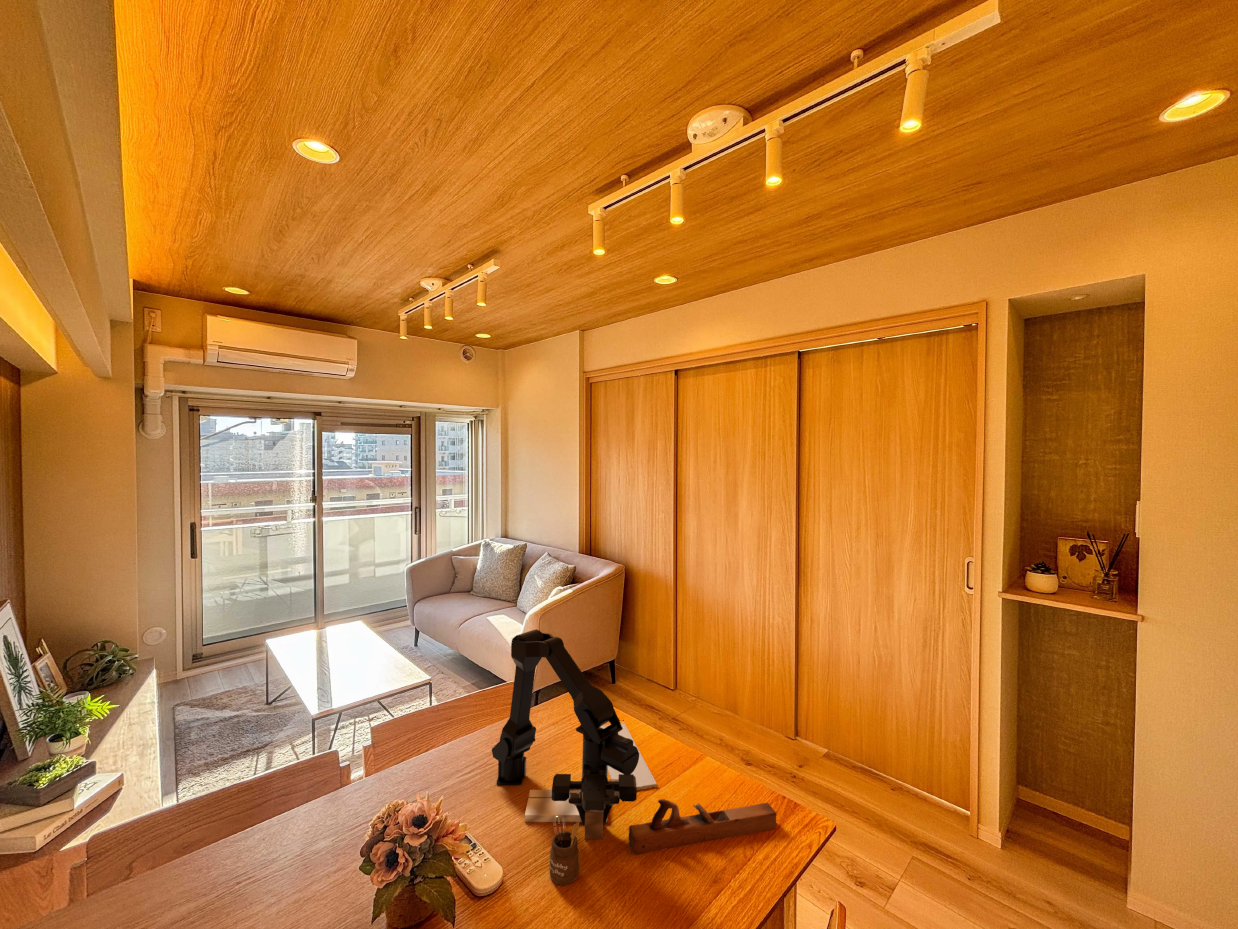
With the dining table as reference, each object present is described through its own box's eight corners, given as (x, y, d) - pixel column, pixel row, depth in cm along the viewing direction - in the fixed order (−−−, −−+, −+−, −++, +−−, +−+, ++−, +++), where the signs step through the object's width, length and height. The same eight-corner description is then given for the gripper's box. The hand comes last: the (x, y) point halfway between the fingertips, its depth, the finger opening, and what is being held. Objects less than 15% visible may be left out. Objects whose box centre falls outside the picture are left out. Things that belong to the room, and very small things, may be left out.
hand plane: (635, 862, 109) (636, 815, 108) (627, 844, 114) (628, 798, 114) (777, 830, 119) (778, 787, 119) (764, 815, 124) (765, 773, 124)
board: (524, 822, 119) (524, 815, 119) (530, 796, 128) (530, 789, 128) (607, 822, 120) (607, 814, 120) (607, 796, 129) (607, 789, 129)
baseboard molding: (611, 796, 130) (656, 789, 133) (611, 785, 130) (657, 778, 133) (586, 732, 160) (624, 727, 163) (586, 722, 160) (624, 718, 163)
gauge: (584, 839, 114) (585, 812, 114) (584, 800, 127) (584, 776, 127) (602, 839, 115) (603, 812, 115) (600, 799, 128) (601, 775, 127)
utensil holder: (564, 858, 109) (565, 801, 109) (586, 874, 105) (587, 815, 105) (543, 875, 104) (544, 816, 104) (565, 892, 100) (566, 831, 100)
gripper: (549, 777, 108) (548, 851, 109) (639, 778, 109) (637, 852, 109) (554, 747, 119) (553, 814, 120) (635, 748, 120) (634, 815, 120)
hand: (593, 824), depth 117 cm, fingers closed on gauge, 4 cm apart
